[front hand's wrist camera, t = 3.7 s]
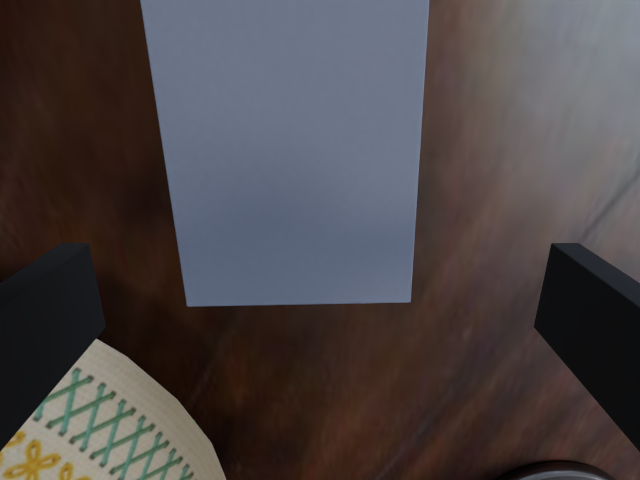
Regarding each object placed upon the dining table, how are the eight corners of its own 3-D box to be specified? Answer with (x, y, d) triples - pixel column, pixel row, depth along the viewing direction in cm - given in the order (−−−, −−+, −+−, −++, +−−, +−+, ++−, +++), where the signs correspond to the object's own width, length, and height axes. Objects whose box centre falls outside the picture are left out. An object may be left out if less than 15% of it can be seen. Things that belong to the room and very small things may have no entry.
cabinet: (198, -82, 24) (109, -199, 14) (390, -88, 24) (442, -209, 14) (230, 230, 30) (186, 307, 20) (380, 227, 30) (411, 303, 20)
